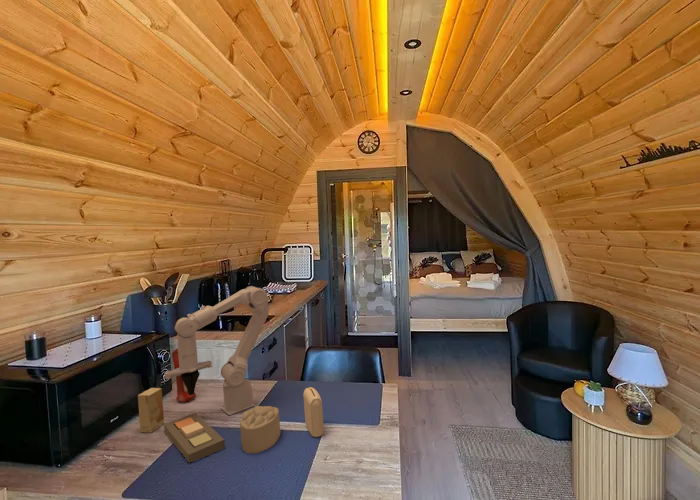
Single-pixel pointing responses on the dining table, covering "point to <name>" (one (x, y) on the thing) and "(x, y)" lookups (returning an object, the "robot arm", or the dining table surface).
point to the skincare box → (150, 409)
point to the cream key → (192, 430)
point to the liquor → (180, 381)
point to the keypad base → (184, 444)
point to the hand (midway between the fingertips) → (191, 393)
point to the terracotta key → (184, 423)
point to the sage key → (200, 440)
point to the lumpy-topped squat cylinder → (259, 428)
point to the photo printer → (313, 412)
